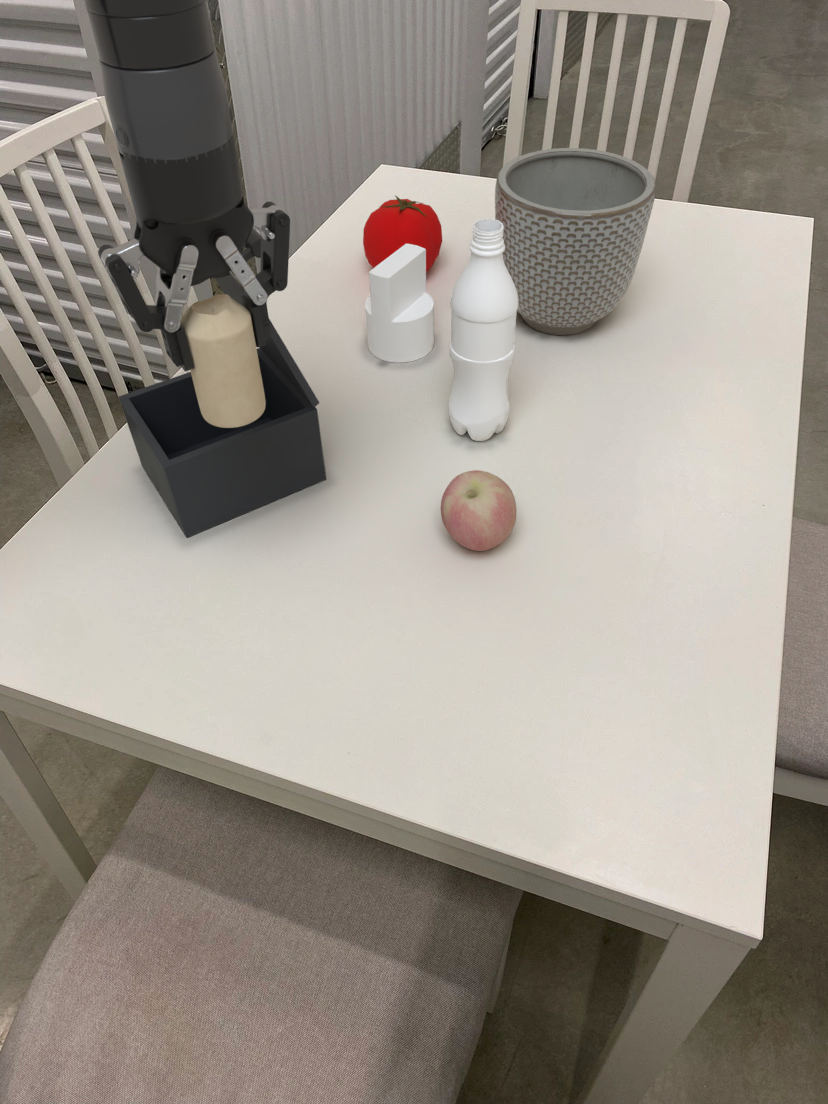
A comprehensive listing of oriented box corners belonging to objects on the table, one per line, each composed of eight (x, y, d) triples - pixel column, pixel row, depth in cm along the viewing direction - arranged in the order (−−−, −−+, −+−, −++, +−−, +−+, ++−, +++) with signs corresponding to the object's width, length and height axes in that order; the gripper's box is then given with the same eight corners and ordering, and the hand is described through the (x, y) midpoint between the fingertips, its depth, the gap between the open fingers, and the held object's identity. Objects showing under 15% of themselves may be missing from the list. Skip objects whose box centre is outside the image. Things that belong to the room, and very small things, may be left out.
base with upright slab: (410, 370, 107) (408, 285, 98) (354, 350, 110) (347, 266, 101) (446, 337, 112) (447, 254, 103) (391, 319, 115) (387, 237, 106)
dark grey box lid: (232, 275, 71) (279, 242, 71) (174, 215, 79) (216, 186, 79) (313, 407, 85) (352, 379, 85) (257, 345, 93) (292, 320, 93)
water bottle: (476, 454, 95) (486, 250, 77) (436, 425, 99) (436, 223, 80) (520, 429, 98) (540, 226, 80) (479, 401, 102) (490, 202, 83)
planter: (459, 312, 116) (462, 176, 102) (555, 266, 124) (571, 134, 110) (561, 373, 105) (580, 231, 91) (659, 319, 114) (690, 180, 100)
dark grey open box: (186, 538, 87) (163, 467, 79) (142, 466, 95) (117, 396, 87) (326, 479, 92) (317, 409, 85) (273, 416, 100) (261, 347, 93)
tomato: (382, 299, 119) (378, 224, 111) (354, 264, 126) (348, 191, 118) (456, 281, 122) (457, 207, 114) (424, 248, 129) (424, 176, 121)
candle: (240, 381, 72) (219, 276, 65) (279, 408, 69) (262, 301, 62) (188, 409, 69) (160, 302, 62) (226, 437, 67) (202, 330, 60)
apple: (436, 515, 88) (436, 459, 82) (506, 509, 89) (511, 453, 83) (445, 570, 83) (445, 514, 77) (519, 564, 83) (526, 507, 77)
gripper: (252, 92, 58) (283, 307, 70) (47, 135, 53) (119, 358, 65) (299, 126, 53) (323, 349, 66) (80, 176, 48) (151, 407, 61)
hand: (221, 353), depth 65 cm, fingers closed on candle, 5 cm apart
